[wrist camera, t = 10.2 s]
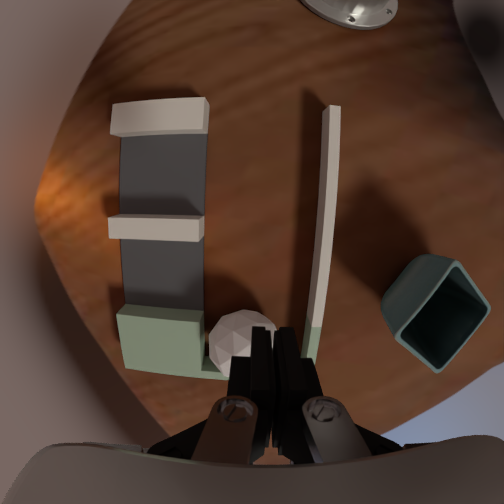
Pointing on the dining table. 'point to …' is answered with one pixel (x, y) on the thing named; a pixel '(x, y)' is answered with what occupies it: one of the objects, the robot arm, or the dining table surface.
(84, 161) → the dining table surface
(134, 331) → the u-shaped rail frame
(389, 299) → the flower pot
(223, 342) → the ornament
